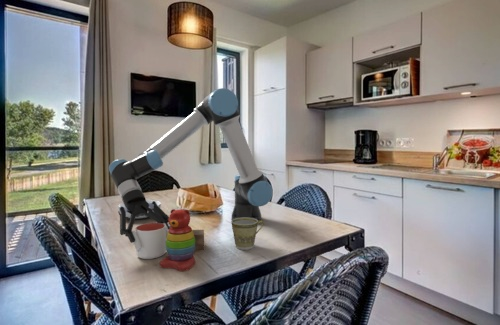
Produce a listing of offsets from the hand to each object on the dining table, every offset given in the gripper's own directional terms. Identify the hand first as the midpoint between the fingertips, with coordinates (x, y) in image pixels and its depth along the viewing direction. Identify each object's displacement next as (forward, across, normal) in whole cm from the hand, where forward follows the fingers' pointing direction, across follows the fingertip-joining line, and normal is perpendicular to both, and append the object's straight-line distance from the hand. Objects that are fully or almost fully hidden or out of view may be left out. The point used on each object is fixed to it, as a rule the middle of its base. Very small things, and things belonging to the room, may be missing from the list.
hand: (155, 244), depth 101 cm
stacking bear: (+11, -2, +5) cm, 12 cm away
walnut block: (+6, -14, 0) cm, 15 cm away
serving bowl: (-35, -24, -41) cm, 59 cm away
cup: (+1, 0, -5) cm, 5 cm away
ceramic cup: (+16, -28, +10) cm, 34 cm away
